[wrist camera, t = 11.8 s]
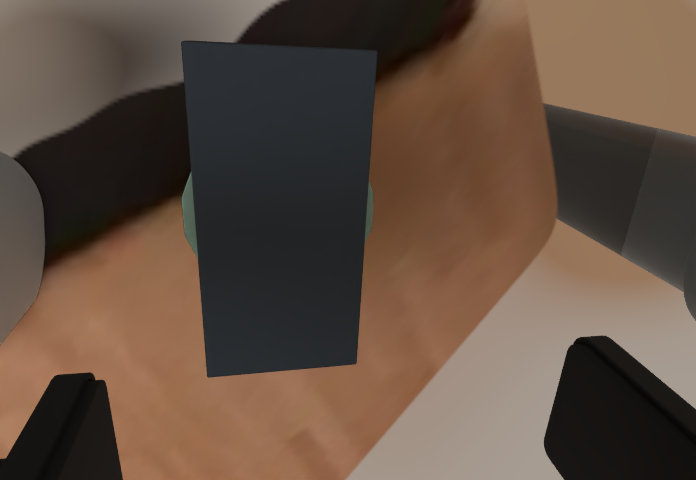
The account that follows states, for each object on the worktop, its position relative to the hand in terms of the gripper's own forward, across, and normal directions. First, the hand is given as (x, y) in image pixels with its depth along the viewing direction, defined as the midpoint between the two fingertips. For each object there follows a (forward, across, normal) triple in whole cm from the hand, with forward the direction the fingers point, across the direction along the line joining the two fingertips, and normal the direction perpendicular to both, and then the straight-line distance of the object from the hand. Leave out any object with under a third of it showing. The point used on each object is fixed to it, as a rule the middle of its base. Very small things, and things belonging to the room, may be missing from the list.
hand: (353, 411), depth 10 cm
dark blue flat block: (+11, +1, 0) cm, 11 cm away
